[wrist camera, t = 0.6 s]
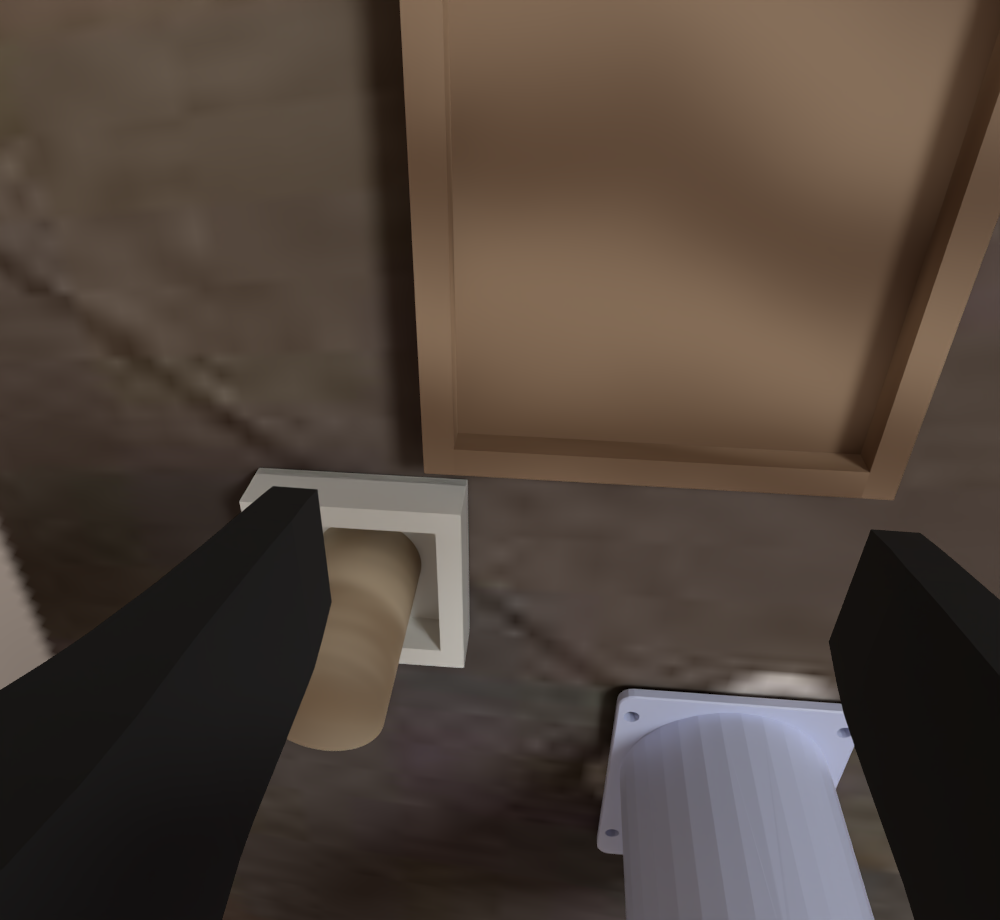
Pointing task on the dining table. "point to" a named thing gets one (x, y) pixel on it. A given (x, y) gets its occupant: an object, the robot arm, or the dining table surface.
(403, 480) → the holder
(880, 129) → the tray
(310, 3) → the dining table surface
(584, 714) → the dining table surface
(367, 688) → the dowel
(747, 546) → the dining table surface
